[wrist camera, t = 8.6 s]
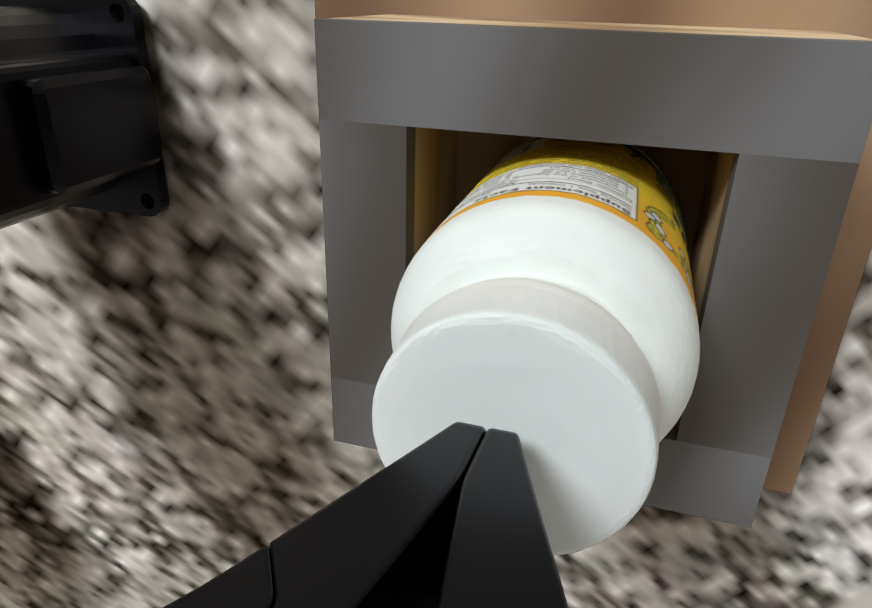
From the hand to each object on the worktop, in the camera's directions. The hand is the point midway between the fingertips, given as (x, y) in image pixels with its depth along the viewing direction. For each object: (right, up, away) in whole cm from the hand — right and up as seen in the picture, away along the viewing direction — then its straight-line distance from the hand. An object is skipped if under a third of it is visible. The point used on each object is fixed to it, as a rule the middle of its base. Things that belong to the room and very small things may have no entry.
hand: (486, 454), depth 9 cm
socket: (+3, +4, +9) cm, 11 cm away
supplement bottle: (+3, +4, +9) cm, 10 cm away
